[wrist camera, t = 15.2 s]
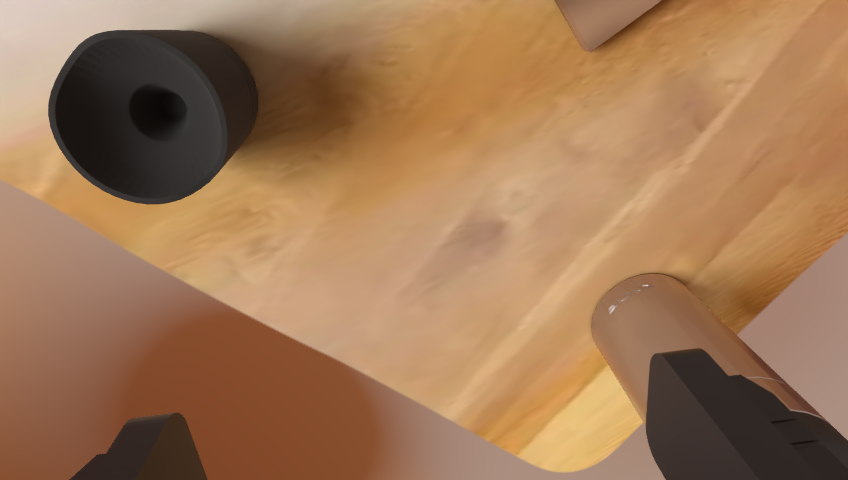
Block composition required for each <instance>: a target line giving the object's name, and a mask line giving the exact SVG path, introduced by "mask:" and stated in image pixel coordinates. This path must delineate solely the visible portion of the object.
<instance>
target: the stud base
mask: <svg viewBox="0 0 848 480" xmlns="http://www.w3.org/2000/svg"><path fill="white" fill-rule="evenodd" d="M555 1H556V3H557V5H558V7H559V8H560V10H561V12H562V14H563V15H564V17H565V19H566V21H567V22H568V24H569V26H570V28H571V29H572V31H573V33H574V34H575V36H576V38H577V40H578V41H579V43H580V45H581V47H582V48H583V50H584V51H589V52H591V51H593V50H594V49H595V48H597V47H598V46H600V45H601V44H602V43H604V42H605V41H606V40H608V39H609V38H611V37H612V36H613V35H615V34H616V33H617V32H619V31H620V30H622V29H623V28H624V27H626V26H627V25H628V24H630V23H631V22H633V21H634V20H635V19H637V18H638V17H639V16H641V15H642V14H644V13H645V12H646V11H648V10H649V9H650V8H652V7H653V6H654V5H656V4H657V3H659V2H660V1H661V0H555Z"/></svg>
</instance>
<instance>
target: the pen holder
mask: <svg viewBox="0 0 848 480" xmlns="http://www.w3.org/2000/svg"><path fill="white" fill-rule="evenodd" d="M257 111H258V95H257V90H256V85H255V82H254V79H253V77H252V75H251V73H250V71H249V69H248V67H247V66H246V64H245V63H244V61H243V60H242V59H241V58H240V57H239V55H238V54H237V53H236V52H235V51H233V50H232V49H231V48H230V47H229V46H227V45H226V44H225V43H223V42H221V41H220V40H218V39H216V38H214V37H211V36H209V35H206V34H203V33H199V32H193V31H180V30H116V31H107V32H102V33H99V34H95V35H93V36H91V37H89V38H87V39H86V40H84V41H83V42H82V43H81V44H79V45H78V47H77V48H76V49H75V50H74V51H73V52H72V54H71V55H70V57H69V58H68V59H67V61H66V63H65V64H64V66H63V67H62V69H61V71H60V73H59V75H58V76H57V78H56V80H55V83H54V86H53V88H52V91H51V95H50V99H49V105H48V116H49V121H50V127H51V130H52V133H53V135H54V138H55V140H56V142H57V144H58V146H59V148H60V150H61V151H62V153H63V154H64V156H65V157H66V158H67V160H68V161H69V162H70V163H71V165H72V166H73V167H74V168H75V169H76V170H77V171H78V172H79V173H80V174H81V175H82V176H83V177H84V178H86V179H87V180H88V181H89V182H91V183H92V184H93V185H95V186H97V187H98V188H100V189H101V190H103V191H105V192H107V193H109V194H111V195H113V196H115V197H118V198H121V199H124V200H127V201H131V202H135V203H142V204H164V203H170V202H174V201H177V200H180V199H183V198H185V197H187V196H189V195H191V194H193V193H195V192H196V191H198V190H199V189H201V188H202V187H204V186H205V185H206V184H207V183H209V182H210V181H211V180H212V179H213V178H214V177H215V176H216V174H217V173H218V172H219V171H220V170H221V169H222V167H223V166H224V165H225V164H226V163H227V161H228V160H229V159H230V158H231V156H232V155H233V154H234V153H235V152H236V150H237V149H238V148H239V147H240V145H241V144H242V143H243V141H244V140H245V139H246V137H247V136H248V134H249V133H250V131H251V129H252V127H253V125H254V123H255V120H256V116H257Z"/></svg>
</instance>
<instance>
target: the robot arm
mask: <svg viewBox="0 0 848 480" xmlns="http://www.w3.org/2000/svg"><path fill="white" fill-rule="evenodd" d="M592 335H593V338H594V340H595V343H596V345H597V347H598V348H599V350H600V351H601V353H602V355H603V356H604V358H605V360H606V361H607V363H608V365H609V366H610V368H611V370H612V371H613V373H614V375H615V376H616V378H617V380H618V381H619V383H620V385H621V386H622V388H623V390H624V391H625V393H626V394H627V396H628V398H629V399H630V401H631V403H632V404H633V406H634V408H635V409H636V411H637V412H638V414H639V416H640V417H641V419H642V421H643V422H644V424H645V426H646V434H647V439H648V443H649V446H650V450H651V452H652V455H653V457H654V459H655V462H656V463H657V465H658V467H659V469H660V470H661V472H662V474H663V476H664V477H665V479H666V480H848V440H846V439H845V438H844V437H843V436H842V435H841V434H840V433H839V432H838V431H837V430H836V429H835V428H834V427H833V426H831V424H829V422H828V421H827V420H826V419H824V418H823V417H822V416H821V415H820V414H819V413H818V412H817V411H816V410H815V409H814V408H813V407H812V406H811V405H810V404H808V402H807V401H806V400H804V399H803V398H802V397H801V396H800V395H799V394H798V393H797V392H796V391H795V390H794V389H793V388H791V387H790V386H789V385H788V384H787V383H786V382H785V381H784V380H783V379H782V378H781V377H780V376H779V375H778V374H777V373H775V371H774V370H773V369H771V368H770V367H769V366H768V365H767V364H766V363H765V362H764V361H763V360H762V359H761V358H760V357H759V356H758V355H757V354H756V353H755V352H754V351H752V349H750V348H749V347H748V346H747V345H746V344H745V343H744V342H743V341H742V340H741V339H740V338H739V337H738V336H737V335H736V334H735V333H734V332H733V331H732V330H730V329H729V328H728V327H727V326H726V325H725V324H724V323H723V322H722V321H721V320H720V319H719V318H718V317H717V316H716V315H715V314H714V313H713V312H712V311H710V310H709V308H708V307H707V306H705V305H704V304H703V303H702V302H701V301H700V300H699V299H698V298H697V297H696V296H695V295H694V294H693V293H692V292H691V291H689V290H688V289H687V288H686V287H685V286H684V285H683V284H682V283H681V282H680V281H678V280H676V279H674V278H672V277H669V276H666V275H663V274H644V275H638V276H635V277H632V278H629V279H627V280H625V281H623V282H621V283H619V284H618V285H616V286H615V287H614V288H612V289H611V290H610V291H609V292H608V293H607V294H606V295H605V296H604V297H603V298H602V299H601V301H600V303H599V304H598V306H597V307H596V310H595V312H594V315H593V319H592ZM70 480H207V477H206V474H205V471H204V469H203V466H202V463H201V460H200V458H199V455H198V452H197V450H196V447H195V444H194V441H193V439H192V436H191V433H190V431H189V428H188V425H187V422H186V420H185V418H184V417H183V416H182V415H181V414H180V413H170V414H162V415H154V416H146V417H139V418H132V419H130V420H128V421H127V422H126V424H125V425H124V426H123V428H122V429H121V431H120V432H119V434H118V436H117V437H116V439H115V440H114V442H113V443H112V445H111V447H110V448H109V450H108V451H107V453H106V454H99V455H96V456H95V457H94V458H93V459H92V460H91V461H90V462H88V464H86V465H85V466H84V467H83V468H82V469H81V470H80V471H78V472H77V473H76V474H75V475H74V476H73V477H72V478H71V479H70Z"/></svg>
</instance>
